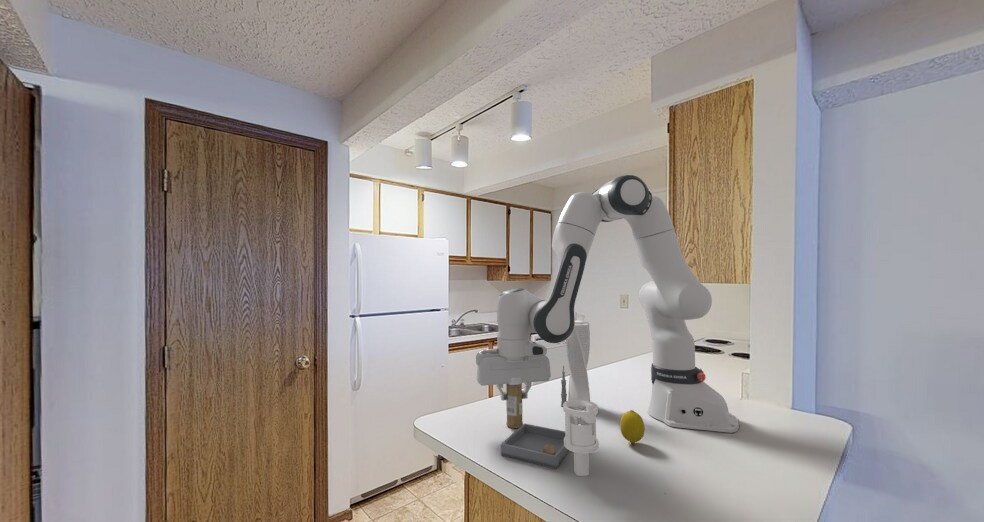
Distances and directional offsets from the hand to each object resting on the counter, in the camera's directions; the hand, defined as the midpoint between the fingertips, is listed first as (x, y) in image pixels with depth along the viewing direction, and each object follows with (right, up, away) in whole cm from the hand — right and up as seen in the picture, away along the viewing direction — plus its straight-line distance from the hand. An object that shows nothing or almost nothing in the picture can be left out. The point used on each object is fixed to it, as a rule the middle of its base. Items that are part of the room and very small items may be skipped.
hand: (514, 398), depth 104 cm
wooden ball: (+7, -4, -20) cm, 21 cm away
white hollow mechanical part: (+13, -7, -25) cm, 28 cm away
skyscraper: (+21, -8, +15) cm, 27 cm away
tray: (+5, -7, -14) cm, 16 cm away
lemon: (+28, -7, -12) cm, 31 cm away
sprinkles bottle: (0, -7, 0) cm, 7 cm away
